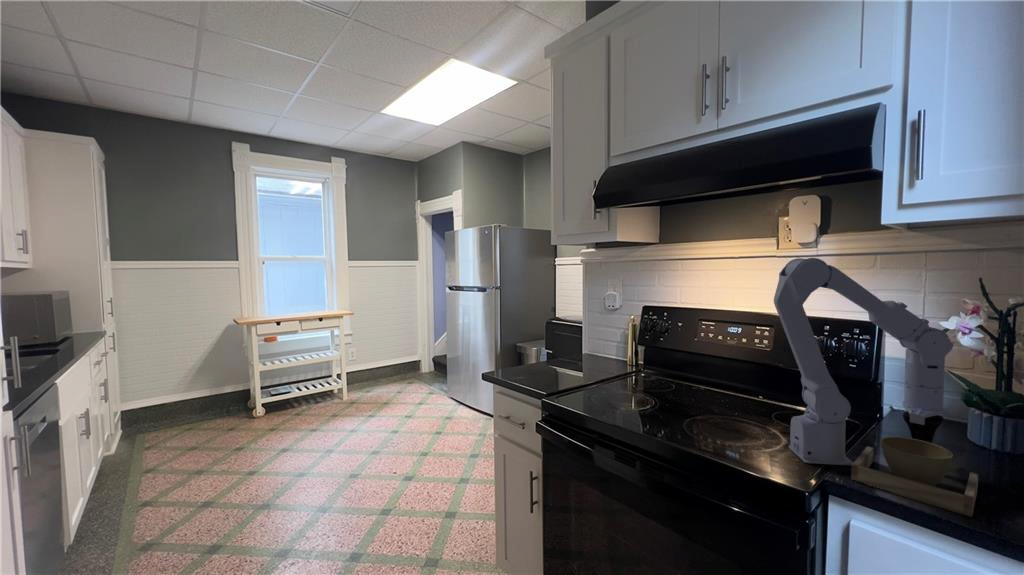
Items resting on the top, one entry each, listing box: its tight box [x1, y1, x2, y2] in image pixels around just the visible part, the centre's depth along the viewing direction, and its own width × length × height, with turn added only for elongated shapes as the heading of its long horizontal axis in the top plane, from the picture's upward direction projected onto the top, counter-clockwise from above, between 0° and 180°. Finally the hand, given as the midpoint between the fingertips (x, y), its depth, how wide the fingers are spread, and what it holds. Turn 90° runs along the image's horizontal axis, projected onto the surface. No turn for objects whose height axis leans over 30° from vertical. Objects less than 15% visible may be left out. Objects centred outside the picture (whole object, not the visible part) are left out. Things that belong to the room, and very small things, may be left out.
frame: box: [850, 446, 979, 518], centre depth 80 cm, size 13×16×3 cm
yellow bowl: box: [880, 436, 954, 487], centre depth 81 cm, size 10×10×7 cm
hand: (922, 449), depth 86 cm, fingers closed
